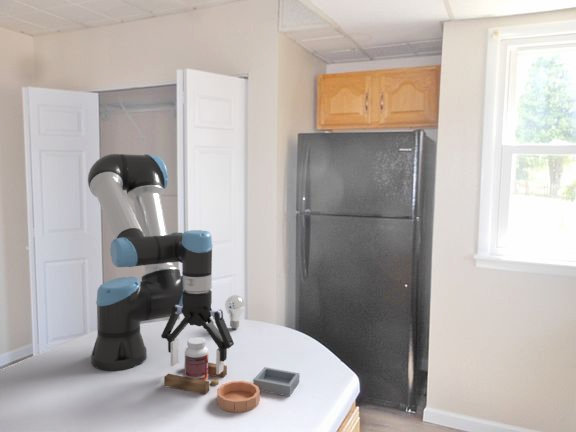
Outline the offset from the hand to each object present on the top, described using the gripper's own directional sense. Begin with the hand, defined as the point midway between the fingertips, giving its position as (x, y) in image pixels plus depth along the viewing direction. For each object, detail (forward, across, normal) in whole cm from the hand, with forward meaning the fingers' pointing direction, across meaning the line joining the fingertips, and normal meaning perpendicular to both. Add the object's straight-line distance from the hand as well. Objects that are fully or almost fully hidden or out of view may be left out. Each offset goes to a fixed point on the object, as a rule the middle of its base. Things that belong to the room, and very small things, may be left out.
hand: (196, 368), depth 125 cm
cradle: (+3, 0, 0) cm, 3 cm away
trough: (+4, +21, +5) cm, 22 cm away
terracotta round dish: (+4, +15, -6) cm, 16 cm away
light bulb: (+3, -7, +39) cm, 40 cm away
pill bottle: (+4, 0, 0) cm, 4 cm away
